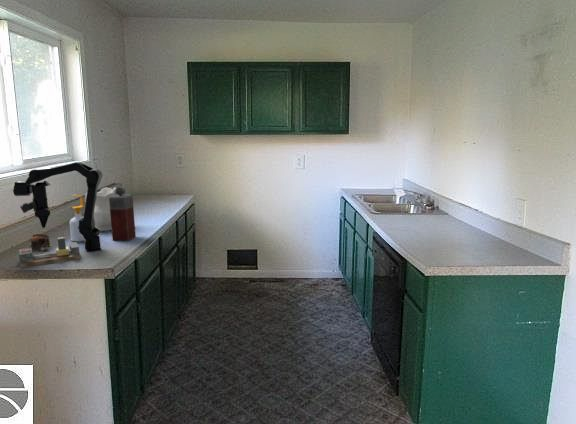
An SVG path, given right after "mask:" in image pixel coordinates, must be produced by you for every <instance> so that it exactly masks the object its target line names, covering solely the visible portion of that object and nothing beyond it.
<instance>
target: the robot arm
mask: <svg viewBox="0 0 576 424" xmlns="http://www.w3.org/2000/svg"><path fill="white" fill-rule="evenodd" d="M70 172H71V173H73V172H77V173H79V174H80V175H81V176H83V177H85V181H86V182H85V183H86V185H87V191H86V193H87V198H86V203H85V204H84V206H85V207H84V214H83V217H84V218H82V219H80V220H79V227H78V229H79V232H80V233H81V234H82V235H83V237H84V239H85V241H83V244H84V246H83V247H84V250H86V252H94V251H101V250H102V247H101V237H100V234H101V231H100V230H98V229H97V228H96V227H97V226H95V221H94V209H95V202H96V195H97V192H98V189H99V186H100V185H101V182H102V178H103V172H102V171H101V170H100V169H98V168H93V167H91V166H89V165H86V164H85V163H82V162H81V161H75V162H73V163H68V164H64V165H58V166H54V167H39V168H35V169H31V170H30V171H29V172H28V177H27V179H26V180H25V181H14V186H13V188H12V192H13V195H14V196H15V197H29V196H31V194H32V199H31V201H29V202H25V203H23V204H21V205H20V206H19V207H20V209H21V211H22V213H23V214H25V213H27V212H29V211H31V210H33V211H34V217H37V218H38V220H39V223H40V225H41V227H42V229H45V227H46V225H47V223H48V219H49V216H51V210H50V209H49V204H48V203H49V202H48V196H47V195H48V193H47V187H48V186H51V183H50V182H48V181H47V180H46V179H49V178H51V177H54V176H57V175H62V174H66V173H70Z"/></svg>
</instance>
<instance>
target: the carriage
mask: <svg viewBox="0 0 576 424" xmlns="http://www.w3.org/2000/svg"><path fill="white" fill-rule="evenodd" d="M56 239H57V246H58V247H56V248H55V252H57V256H62V255H69V251H70V247H68V246H66V238H65V237H64V236H61V237H56Z"/></svg>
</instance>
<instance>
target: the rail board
mask: <svg viewBox="0 0 576 424" xmlns="http://www.w3.org/2000/svg"><path fill="white" fill-rule="evenodd" d="M68 245H69V255H62V256H57V252H56V251H55V252H49V253H43V254H35V255H33V250H32V248H20V249H18V256H19V265H20V268H28V267H33V266H41V265H47V264H48V265H49V264H53V263H61V262H67V261H75V260H80V259H81V260H82V255H81V252H80V246H79V244H78V243H77V242H76V241H73V242H69V244H68ZM24 250H29V252H22V251H24Z"/></svg>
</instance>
